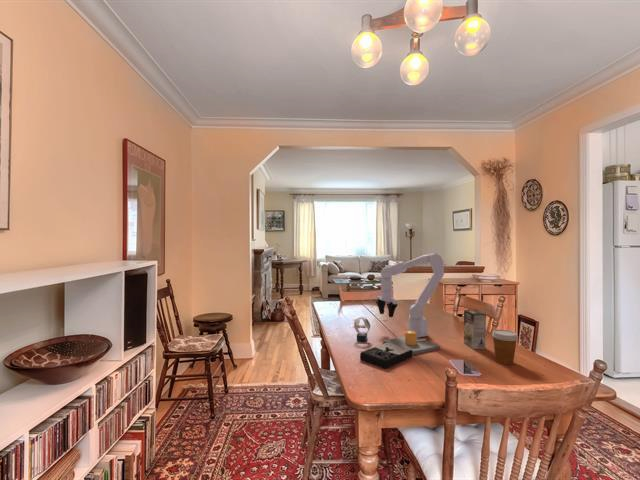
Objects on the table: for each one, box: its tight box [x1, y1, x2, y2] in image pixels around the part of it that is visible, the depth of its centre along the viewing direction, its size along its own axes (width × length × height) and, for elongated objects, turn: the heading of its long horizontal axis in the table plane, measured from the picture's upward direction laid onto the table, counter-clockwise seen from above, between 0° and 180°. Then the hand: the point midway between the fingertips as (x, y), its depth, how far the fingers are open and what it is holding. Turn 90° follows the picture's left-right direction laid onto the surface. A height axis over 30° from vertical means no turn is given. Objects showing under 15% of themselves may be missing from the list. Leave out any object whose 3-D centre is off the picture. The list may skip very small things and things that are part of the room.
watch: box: [353, 316, 371, 343], centre depth 166 cm, size 6×8×11 cm
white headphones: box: [350, 318, 366, 329], centre depth 191 cm, size 9×8×4 cm
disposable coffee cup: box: [491, 329, 519, 365], centre depth 138 cm, size 10×10×12 cm
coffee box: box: [463, 309, 487, 350], centre depth 157 cm, size 9×6×16 cm
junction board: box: [383, 336, 441, 356], centre depth 157 cm, size 18×18×2 cm
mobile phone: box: [448, 359, 482, 377], centre depth 132 cm, size 8×1×15 cm
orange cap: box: [404, 330, 417, 345], centre depth 157 cm, size 5×5×5 cm
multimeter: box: [359, 343, 413, 370], centre depth 141 cm, size 13×19×5 cm
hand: (386, 315), depth 178 cm, fingers open, 7 cm apart
